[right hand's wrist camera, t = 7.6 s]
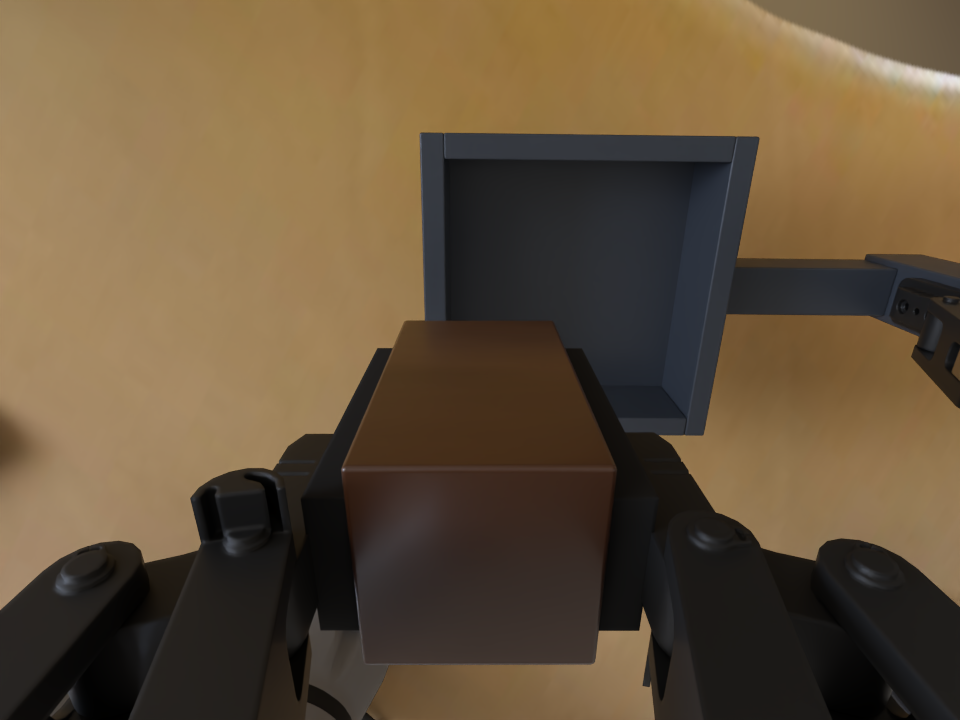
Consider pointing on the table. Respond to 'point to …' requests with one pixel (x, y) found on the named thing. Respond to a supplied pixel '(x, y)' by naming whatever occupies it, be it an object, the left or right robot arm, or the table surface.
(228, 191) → the table surface
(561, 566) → the walnut block
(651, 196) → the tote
